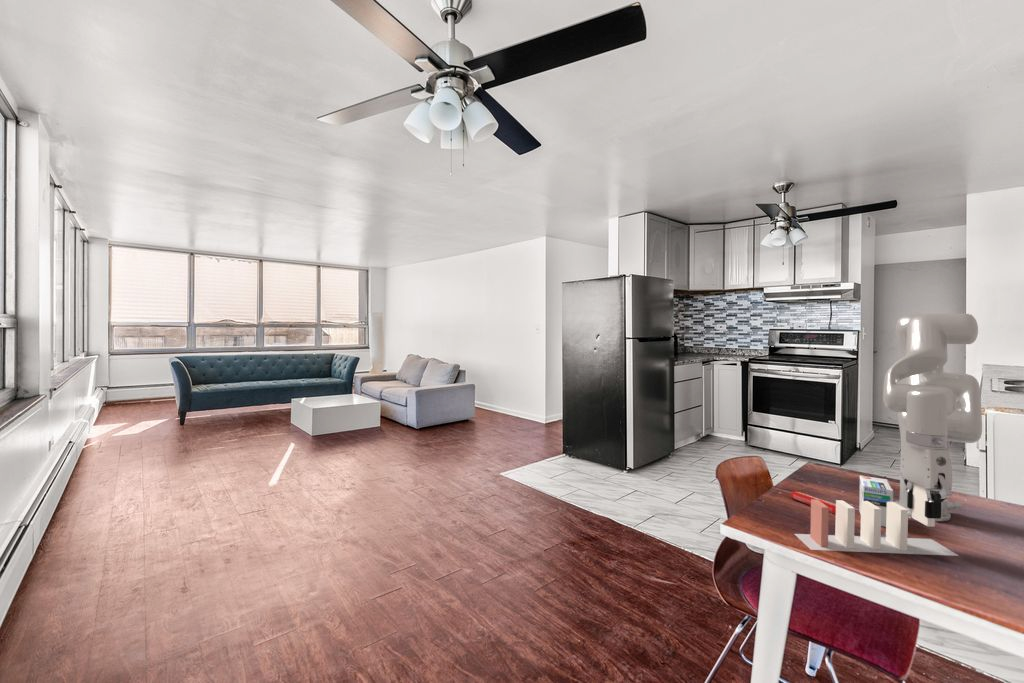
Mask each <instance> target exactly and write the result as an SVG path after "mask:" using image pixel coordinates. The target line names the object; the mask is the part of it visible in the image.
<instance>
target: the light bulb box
mask: <svg viewBox="0 0 1024 683" xmlns="http://www.w3.org/2000/svg"><path fill="white" fill-rule="evenodd" d="M861 501H869V502H870V503H872V504H874V505H875V506H877V507H879V508H880V509H881V527H884V528H886V512H887V502H894V489H893V488H892V487H891V484H890V483H889V479H885V478H880V477H879V478H878V477H872V476H865V475H859V506H858V509H859V511H858V512H859V513H860V515H861Z"/></svg>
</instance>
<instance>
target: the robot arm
mask: <svg viewBox="0 0 1024 683" xmlns="http://www.w3.org/2000/svg"><path fill="white" fill-rule="evenodd" d="M895 334H896V340H897V343H898V346H899V348H900V350H901V352H902V354H903V357H901V358H899V359H898V360H897V361H895V362H894V363H893V364H892V365H891V366H890V367H889V368H888V369H887V371H886V373H885V375H884V379H883V389H882V390H883V391H882V392H883V393H882V400H883V401H882V402H883V405H884V407H885V408H886V409H887V410H889V411H891V412H895V413H897V422H898V427H899V435H900V469H899V471H900V474H899V476H900V478H899V500H895V501H894V502H895V503H897V504H898V505H900V506H902V507H904V508H906V509H907V510H908V517H909V516H910V517H912V509H913V484H914V483H915V484H917V485H919V486H921V487H923V488H925V489H926V494H927V500H928V501H925V517H926V518H935V522H947V521H949V520H950V519H951V513H950V512H949V511H950V510H951V509H952V510H962V509H963V505H962V503H961V502H959V501H950V500H949V499H948V498H950V497H951V496H953V493H952V491H951V490H952V489H953V469H952V460H951V455H950V451H949V449H947V447H948V446H947V445H948V444H947V443H948V442H954V443H955V442H956V443H965V444H973V443H977V442H979V440H981V438H982V433H983V415H982V399H981V398H982V395H981V386H980V383H979V380H978V379H977V378H976V377H975V376H973V375H971V374H968V373H960V372H945V371H944V366H945V365H946V363H947V362H948V357H949V356H948V345H973V343H975V342H976V341H977V338H978V334H979V325H978V322H977V319H976V318H975V317H974V315H972V314H969V313H923V314H922V313H918V314H907V315H904V316H902V317H900V318H899V319H897V320H896V323H895ZM904 379H905V381H904V382H905V383H899V382H900V381H902V380H904ZM934 486H936V489H934ZM932 491H936V494H935V495H933V494H932Z"/></svg>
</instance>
